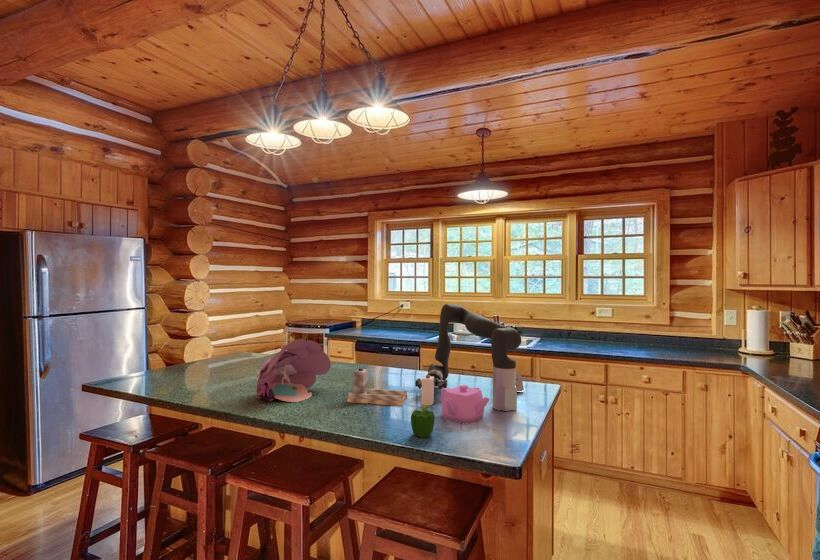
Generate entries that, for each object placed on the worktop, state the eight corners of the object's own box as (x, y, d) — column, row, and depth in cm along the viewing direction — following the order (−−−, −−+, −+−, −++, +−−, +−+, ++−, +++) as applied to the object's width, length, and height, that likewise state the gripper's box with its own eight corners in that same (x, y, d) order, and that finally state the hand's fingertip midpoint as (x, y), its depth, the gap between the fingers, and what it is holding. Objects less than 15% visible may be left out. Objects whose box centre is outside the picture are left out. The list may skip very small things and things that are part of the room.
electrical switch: (508, 394, 201) (507, 374, 202) (501, 392, 205) (500, 373, 206) (524, 392, 205) (523, 372, 206) (517, 391, 209) (516, 371, 210)
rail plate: (407, 398, 192) (407, 367, 192) (402, 405, 180) (402, 373, 180) (355, 394, 196) (356, 365, 197) (347, 402, 185) (347, 370, 185)
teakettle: (478, 410, 176) (478, 380, 176) (490, 424, 159) (491, 390, 159) (437, 411, 174) (437, 380, 174) (445, 425, 157) (446, 391, 157)
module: (433, 401, 187) (434, 374, 187) (431, 405, 181) (432, 377, 181) (423, 401, 188) (423, 373, 188) (421, 405, 182) (421, 376, 182)
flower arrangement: (286, 420, 175) (295, 354, 170) (238, 403, 181) (246, 340, 177) (327, 391, 208) (336, 335, 204) (286, 377, 214) (293, 323, 210)
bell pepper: (414, 440, 141) (414, 410, 141) (407, 432, 149) (408, 403, 149) (438, 438, 143) (438, 408, 143) (430, 430, 151) (431, 401, 151)
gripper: (419, 370, 206) (413, 377, 190) (449, 371, 203) (445, 379, 187) (419, 385, 206) (413, 394, 190) (448, 387, 203) (445, 396, 187)
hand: (429, 387), depth 188 cm, fingers open, 8 cm apart
